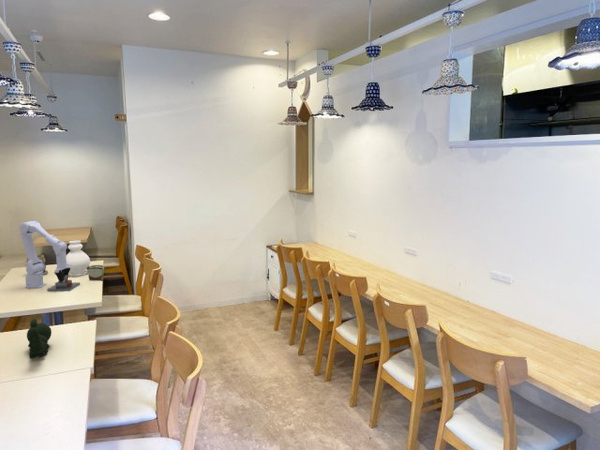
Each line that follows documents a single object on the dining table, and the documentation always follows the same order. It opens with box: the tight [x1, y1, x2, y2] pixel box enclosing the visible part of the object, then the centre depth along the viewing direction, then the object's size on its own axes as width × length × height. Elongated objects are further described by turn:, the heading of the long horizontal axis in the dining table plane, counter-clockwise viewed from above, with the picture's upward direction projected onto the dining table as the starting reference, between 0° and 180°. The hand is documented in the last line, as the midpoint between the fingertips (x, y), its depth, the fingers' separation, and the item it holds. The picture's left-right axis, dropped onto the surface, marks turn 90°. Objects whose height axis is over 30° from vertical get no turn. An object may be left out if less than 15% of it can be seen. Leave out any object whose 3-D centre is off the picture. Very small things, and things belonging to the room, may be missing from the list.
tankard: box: [26, 254, 49, 277], centre depth 301 cm, size 20×13×15 cm, turn 25°
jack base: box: [46, 279, 81, 292], centre depth 273 cm, size 14×14×5 cm
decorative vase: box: [66, 239, 91, 277], centre depth 304 cm, size 18×18×25 cm
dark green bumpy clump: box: [26, 318, 52, 360], centre depth 181 cm, size 9×19×25 cm
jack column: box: [63, 275, 69, 282], centre depth 272 cm, size 4×4×7 cm
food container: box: [85, 264, 105, 282], centre depth 292 cm, size 12×6×10 cm, turn 84°
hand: (63, 280), depth 272 cm, fingers open, 6 cm apart
